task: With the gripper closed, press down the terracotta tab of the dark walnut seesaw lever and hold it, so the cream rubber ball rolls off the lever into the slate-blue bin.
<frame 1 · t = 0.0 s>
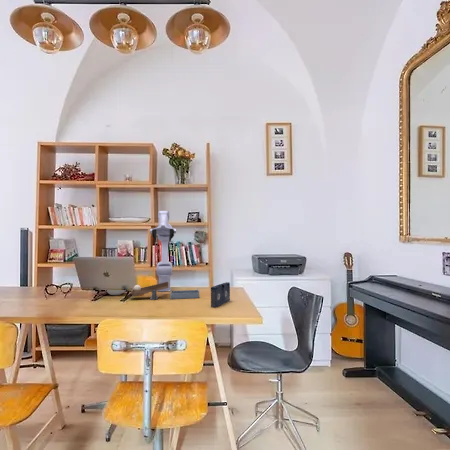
hand: (162, 240, 191), 32 cm above the table, tool tilted 50°, fingers open, 7 cm apart
bin: (184, 297, 196), on the table
lever: (150, 287, 197), point 6 cm above the table, hinge at 12.0°, touching ball
teacup: (113, 294, 206), on the table
vhs cassette tape: (220, 304, 178), on the table
lever stand: (154, 298, 194), on the table
ball: (137, 288, 192), point 6 cm above the table, tilted 9°, touching lever
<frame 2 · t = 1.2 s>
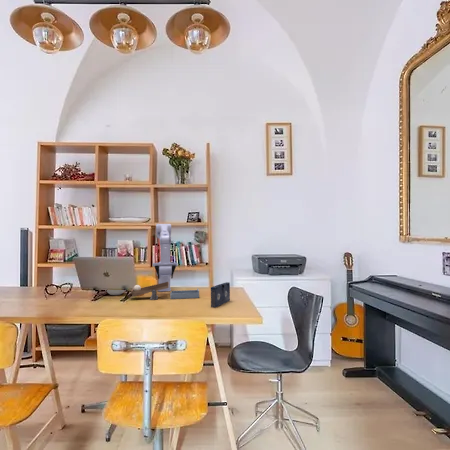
hand: (165, 278, 204), 10 cm above the table, tool pointing down, fingers open, 7 cm apart
nothing on the table moved.
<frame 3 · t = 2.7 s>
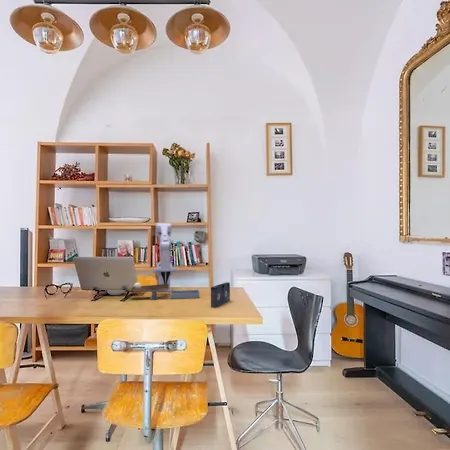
hand: (165, 284, 204), 6 cm above the table, tool pointing down, fingers closed, pressing on lever
lever: (150, 286, 197), point 6 cm above the table, hinge at 3.6°, touching ball, gripper
ball: (137, 286, 192), point 7 cm above the table, touching lever
everything else where it was.
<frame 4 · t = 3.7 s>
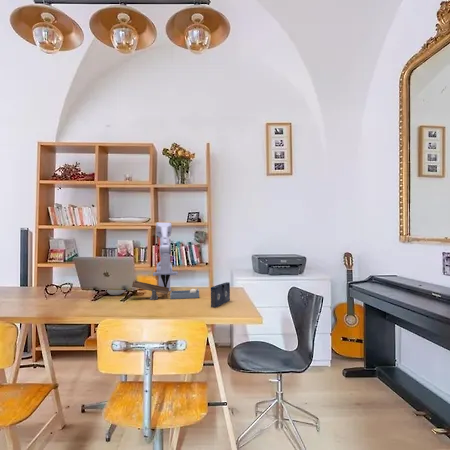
hand: (165, 287, 204), 4 cm above the table, tool pointing down, fingers closed, pressing on lever
lever: (151, 285, 198), point 6 cm above the table, hinge at -14.0°, touching gripper
ball: (193, 292, 197), point 3 cm above the table, tilted 120°, touching bin
everything else where it was.
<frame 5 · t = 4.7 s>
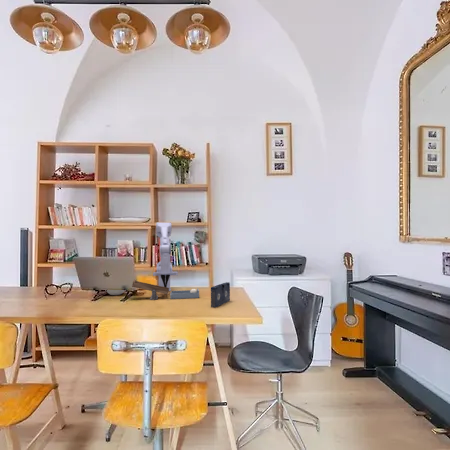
hand: (165, 287, 204), 4 cm above the table, tool pointing down, fingers closed, pressing on lever
lever: (151, 285, 198), point 6 cm above the table, hinge at -14.0°, touching gripper
ball: (193, 292, 197), point 3 cm above the table, tilted 113°, touching bin
everything else where it was.
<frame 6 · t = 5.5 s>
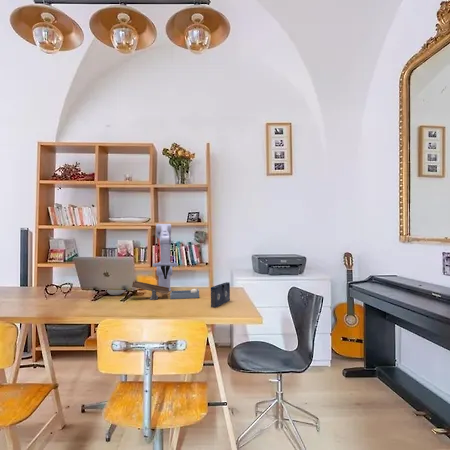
hand: (165, 278, 204), 9 cm above the table, tool pointing down, fingers closed
lever: (151, 285, 198), point 6 cm above the table, hinge at -13.5°
ball: (194, 292, 197), point 3 cm above the table, tilted 108°, touching bin
everything else where it was.
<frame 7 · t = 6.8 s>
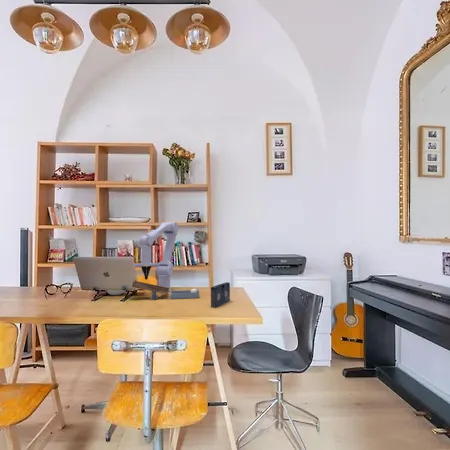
hand: (146, 279, 202), 9 cm above the table, tool pointing down, fingers closed
nothing on the table moved.
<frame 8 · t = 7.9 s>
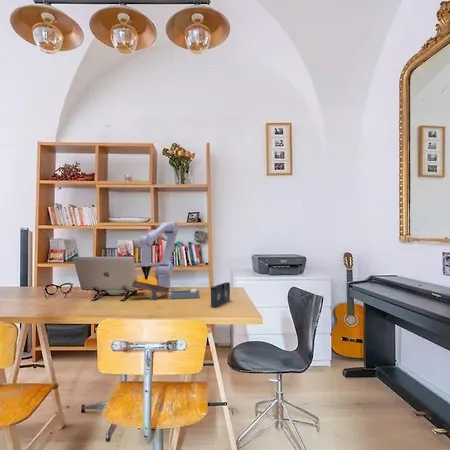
hand: (146, 279, 202), 9 cm above the table, tool pointing down, fingers closed
nothing on the table moved.
at the end: ball inside the target area on the bin (5.3 cm from its centre), point 2.6 cm above the bin's base; lever at -14° (first picture: +12°) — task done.
